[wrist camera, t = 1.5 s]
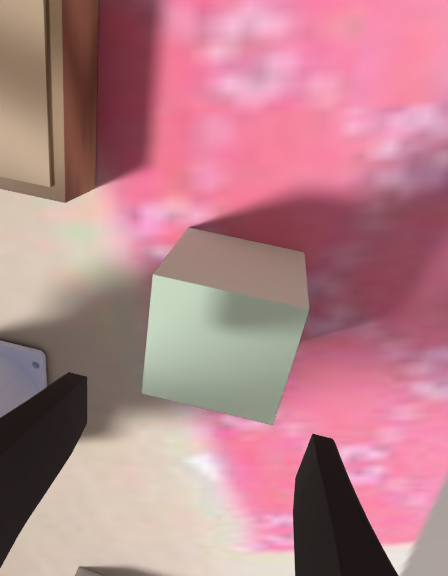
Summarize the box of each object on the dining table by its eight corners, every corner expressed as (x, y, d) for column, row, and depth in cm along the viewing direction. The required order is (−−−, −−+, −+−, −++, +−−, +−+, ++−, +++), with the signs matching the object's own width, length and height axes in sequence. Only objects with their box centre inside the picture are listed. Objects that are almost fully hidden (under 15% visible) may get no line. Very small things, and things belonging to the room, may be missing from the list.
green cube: (277, 347, 23) (272, 425, 17) (176, 323, 23) (141, 393, 18) (304, 251, 20) (309, 309, 14) (189, 227, 20) (152, 274, 15)
